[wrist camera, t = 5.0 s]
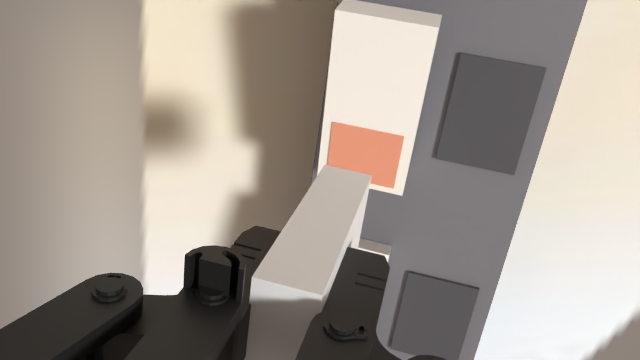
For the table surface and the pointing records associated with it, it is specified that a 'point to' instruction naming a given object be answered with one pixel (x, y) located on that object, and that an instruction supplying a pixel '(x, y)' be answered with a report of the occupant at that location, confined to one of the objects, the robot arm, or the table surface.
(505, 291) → the table surface
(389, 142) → the block
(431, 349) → the strip
